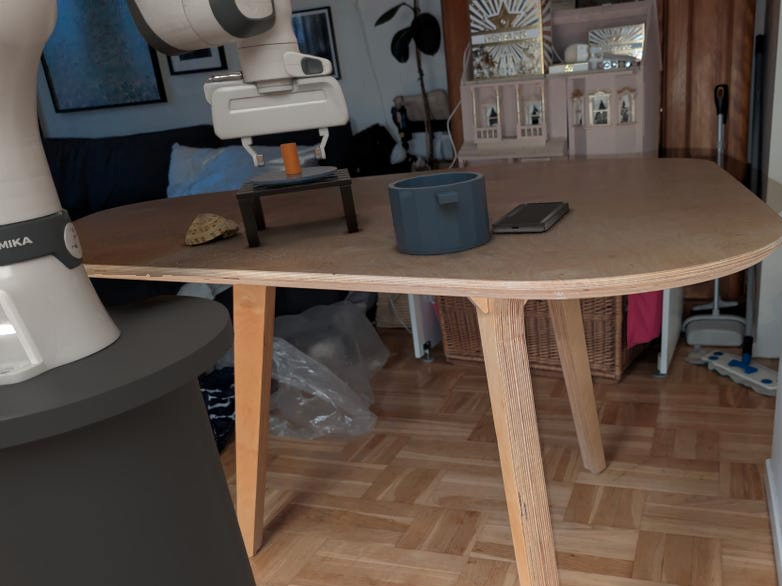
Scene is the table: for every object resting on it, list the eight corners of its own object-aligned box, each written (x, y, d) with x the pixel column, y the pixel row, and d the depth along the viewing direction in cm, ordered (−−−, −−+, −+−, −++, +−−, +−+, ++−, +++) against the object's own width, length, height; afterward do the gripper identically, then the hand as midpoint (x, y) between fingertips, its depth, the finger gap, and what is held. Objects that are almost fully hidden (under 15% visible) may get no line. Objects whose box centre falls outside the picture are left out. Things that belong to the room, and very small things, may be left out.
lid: (247, 192, 104) (238, 153, 102) (254, 181, 116) (247, 146, 114) (339, 179, 106) (332, 141, 104) (337, 170, 118) (330, 135, 116)
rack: (247, 248, 106) (235, 194, 103) (256, 229, 120) (245, 181, 117) (360, 231, 108) (351, 179, 105) (355, 214, 123) (347, 168, 120)
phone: (570, 201, 107) (543, 223, 94) (570, 208, 107) (544, 231, 94) (520, 203, 109) (488, 225, 97) (521, 210, 110) (489, 233, 97)
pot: (405, 264, 86) (395, 196, 83) (391, 236, 103) (382, 178, 99) (504, 249, 88) (498, 181, 85) (475, 224, 105) (469, 166, 101)
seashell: (247, 222, 114) (197, 211, 109) (242, 256, 115) (191, 247, 110) (232, 217, 120) (184, 207, 115) (227, 249, 121) (178, 240, 116)
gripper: (196, 75, 100) (220, 173, 105) (340, 59, 103) (356, 156, 109) (203, 75, 106) (225, 169, 111) (339, 61, 109) (354, 153, 114)
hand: (291, 162), depth 110 cm, fingers open, 8 cm apart
